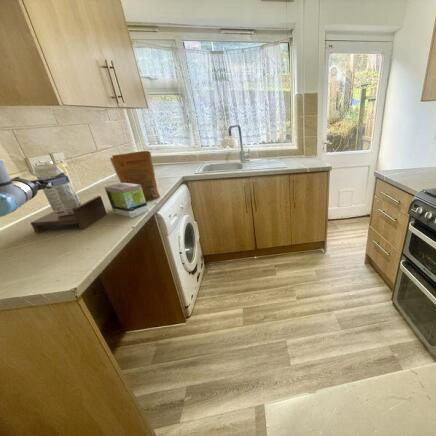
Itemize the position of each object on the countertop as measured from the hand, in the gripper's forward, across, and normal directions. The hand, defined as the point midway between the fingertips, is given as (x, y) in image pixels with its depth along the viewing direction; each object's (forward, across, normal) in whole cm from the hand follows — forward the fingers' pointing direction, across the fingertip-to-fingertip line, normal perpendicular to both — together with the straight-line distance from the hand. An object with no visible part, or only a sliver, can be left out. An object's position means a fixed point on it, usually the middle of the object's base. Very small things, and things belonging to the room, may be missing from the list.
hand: (42, 177), depth 97 cm
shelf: (+11, 0, -24) cm, 27 cm away
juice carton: (+11, 0, -20) cm, 23 cm away
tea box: (+12, +24, -24) cm, 36 cm away
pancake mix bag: (+30, +30, -24) cm, 49 cm away
